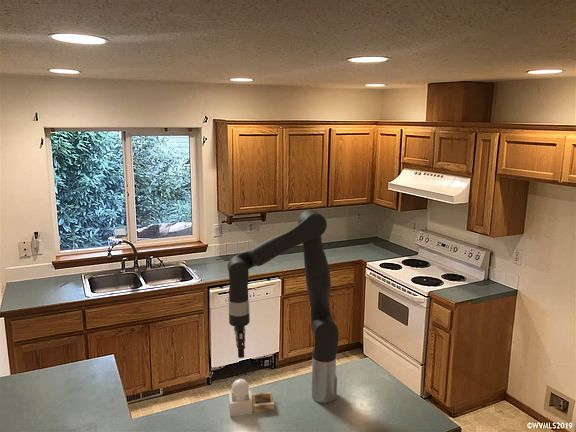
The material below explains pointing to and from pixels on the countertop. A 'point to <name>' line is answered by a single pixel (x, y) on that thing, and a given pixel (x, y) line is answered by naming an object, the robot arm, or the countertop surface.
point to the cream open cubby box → (240, 404)
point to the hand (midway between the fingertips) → (240, 351)
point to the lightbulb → (240, 389)
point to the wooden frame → (264, 406)
